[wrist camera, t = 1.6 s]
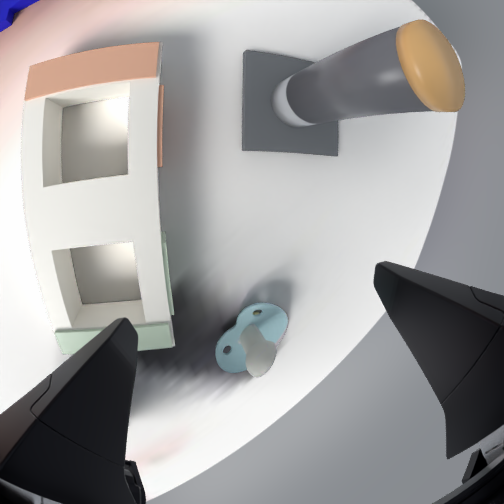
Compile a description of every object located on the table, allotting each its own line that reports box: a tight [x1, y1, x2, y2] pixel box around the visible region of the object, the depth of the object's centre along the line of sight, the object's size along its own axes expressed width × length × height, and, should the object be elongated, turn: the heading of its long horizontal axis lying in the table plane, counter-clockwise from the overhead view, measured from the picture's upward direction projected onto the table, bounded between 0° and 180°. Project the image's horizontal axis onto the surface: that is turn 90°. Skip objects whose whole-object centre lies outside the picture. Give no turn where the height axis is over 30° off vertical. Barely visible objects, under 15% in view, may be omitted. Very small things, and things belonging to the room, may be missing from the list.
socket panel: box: [21, 42, 175, 354], centre depth 15 cm, size 20×9×4 cm, turn 179°
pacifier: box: [215, 302, 288, 377], centre depth 21 cm, size 7×6×6 cm
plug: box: [271, 20, 465, 127], centre depth 12 cm, size 4×4×13 cm
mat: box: [242, 50, 338, 156], centre depth 18 cm, size 8×8×1 cm
